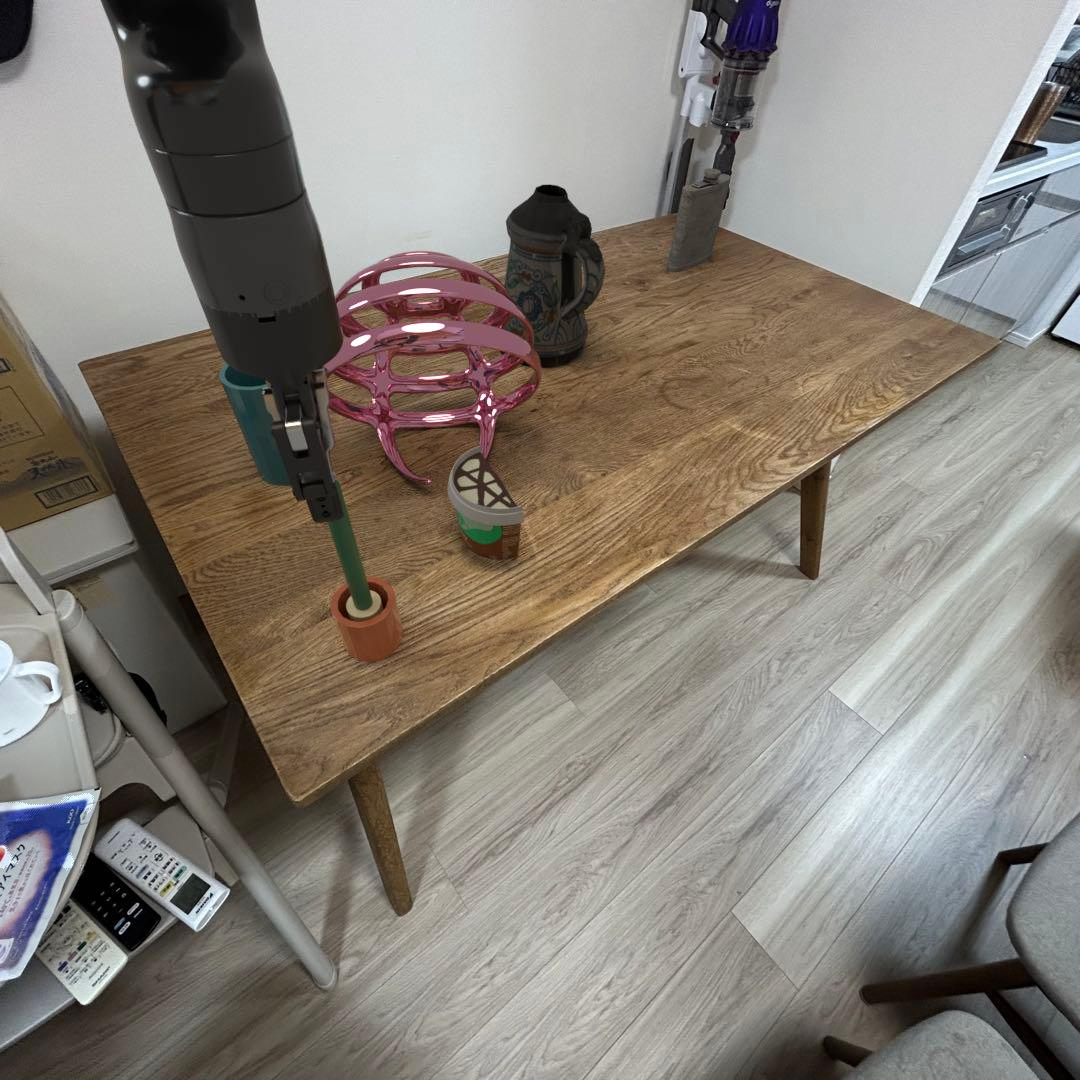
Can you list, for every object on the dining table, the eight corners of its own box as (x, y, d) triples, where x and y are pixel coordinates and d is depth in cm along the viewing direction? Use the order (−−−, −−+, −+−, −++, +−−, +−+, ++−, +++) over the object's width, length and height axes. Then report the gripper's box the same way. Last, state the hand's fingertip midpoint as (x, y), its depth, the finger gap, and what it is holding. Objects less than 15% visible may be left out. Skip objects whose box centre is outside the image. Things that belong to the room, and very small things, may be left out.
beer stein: (514, 312, 113) (516, 162, 94) (613, 335, 109) (635, 183, 90) (478, 356, 102) (472, 196, 84) (585, 382, 99) (604, 221, 80)
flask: (716, 256, 134) (740, 165, 120) (677, 274, 127) (697, 180, 113) (703, 251, 135) (725, 160, 122) (664, 268, 129) (682, 174, 115)
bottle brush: (358, 653, 63) (306, 504, 46) (355, 626, 65) (304, 475, 48) (391, 645, 63) (351, 496, 47) (387, 619, 66) (348, 468, 49)
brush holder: (347, 670, 62) (332, 633, 57) (342, 622, 66) (328, 583, 61) (407, 656, 63) (398, 619, 58) (399, 610, 67) (390, 571, 62)
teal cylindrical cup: (258, 490, 79) (217, 393, 68) (259, 451, 84) (221, 356, 73) (321, 480, 81) (291, 384, 69) (318, 443, 86) (290, 348, 74)
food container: (437, 516, 77) (430, 456, 70) (481, 501, 79) (479, 442, 72) (475, 584, 70) (471, 526, 62) (522, 567, 72) (524, 508, 65)
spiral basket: (534, 426, 59) (501, 173, 62) (272, 471, 63) (254, 231, 66) (566, 482, 86) (542, 305, 90) (383, 511, 90) (366, 340, 93)
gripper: (202, 232, 39) (275, 432, 51) (183, 347, 30) (276, 556, 42) (322, 224, 40) (365, 419, 53) (338, 330, 31) (385, 536, 44)
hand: (325, 480), depth 47 cm, fingers open, 8 cm apart
